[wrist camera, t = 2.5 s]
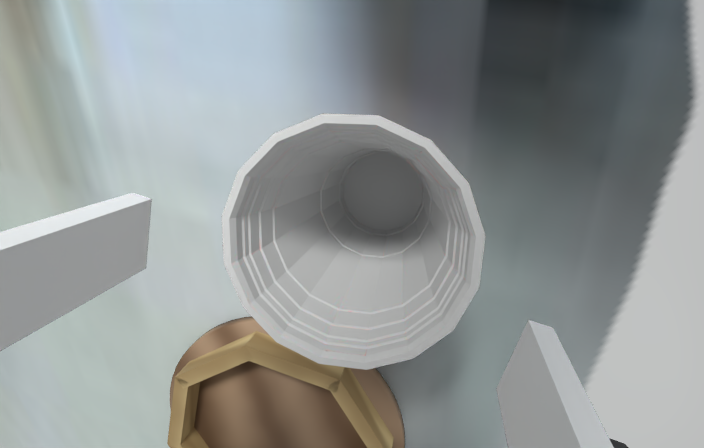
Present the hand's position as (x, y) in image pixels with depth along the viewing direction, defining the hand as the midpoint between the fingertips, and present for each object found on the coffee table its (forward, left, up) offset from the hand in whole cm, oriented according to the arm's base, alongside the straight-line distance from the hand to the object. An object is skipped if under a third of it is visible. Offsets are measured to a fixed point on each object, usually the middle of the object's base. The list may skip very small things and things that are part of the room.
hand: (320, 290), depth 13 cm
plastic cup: (0, 0, -15) cm, 15 cm away
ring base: (+18, +14, -15) cm, 27 cm away
